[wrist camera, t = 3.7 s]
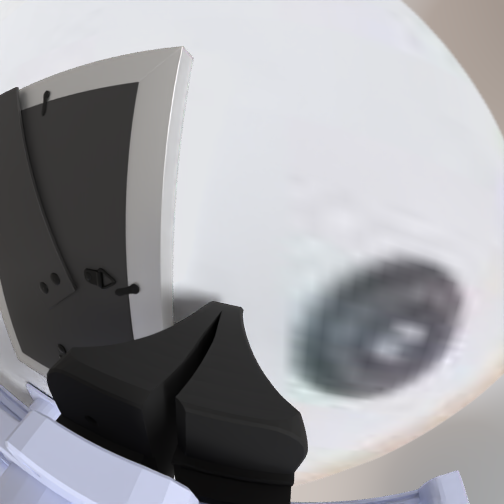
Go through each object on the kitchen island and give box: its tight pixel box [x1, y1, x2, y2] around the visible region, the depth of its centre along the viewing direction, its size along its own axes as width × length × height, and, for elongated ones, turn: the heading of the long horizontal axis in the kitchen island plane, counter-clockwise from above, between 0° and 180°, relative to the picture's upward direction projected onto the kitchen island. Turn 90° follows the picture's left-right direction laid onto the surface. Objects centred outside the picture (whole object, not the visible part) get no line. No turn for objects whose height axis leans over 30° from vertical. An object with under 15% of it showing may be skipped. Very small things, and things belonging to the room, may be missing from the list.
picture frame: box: [0, 46, 194, 378], centre depth 12 cm, size 16×3×21 cm
